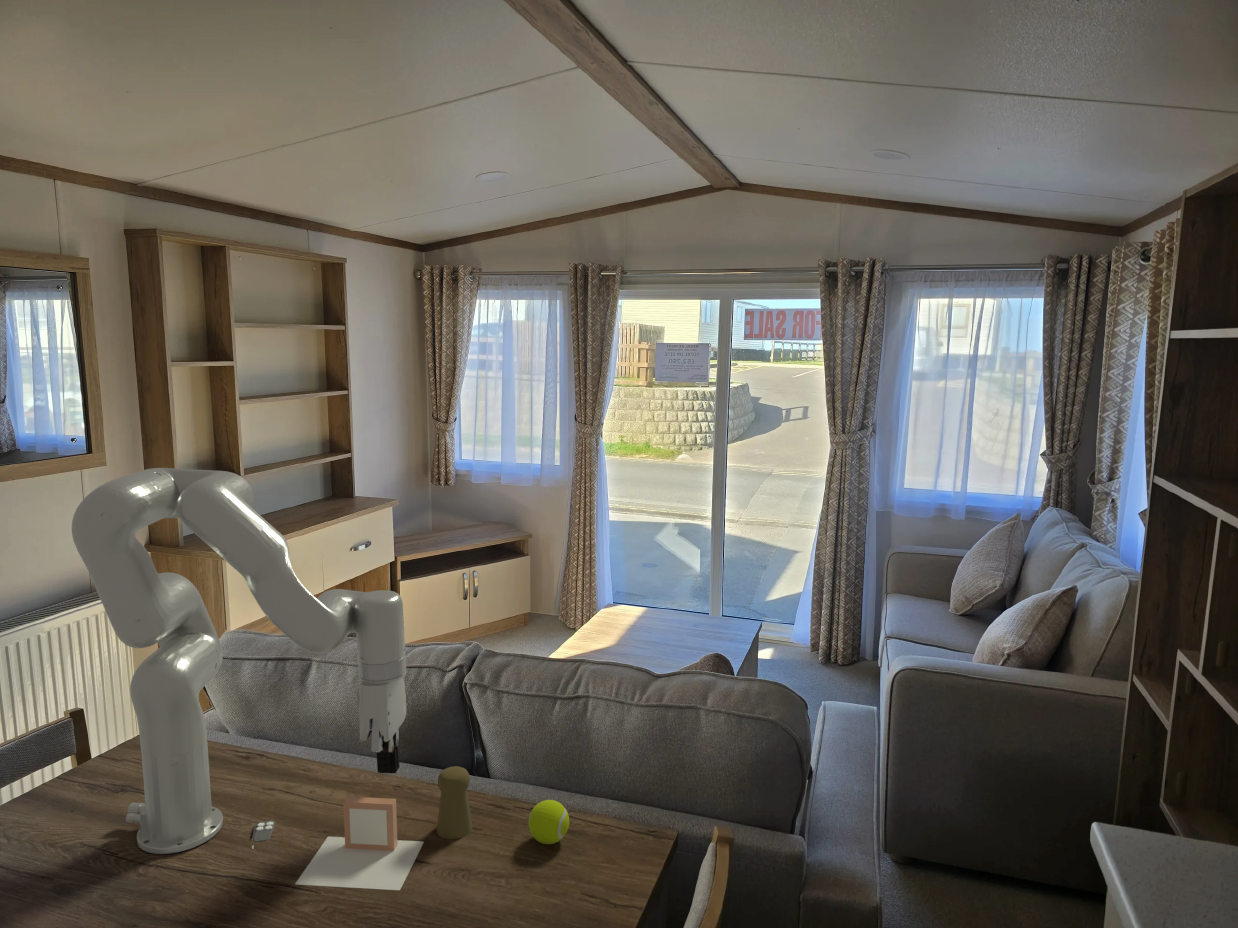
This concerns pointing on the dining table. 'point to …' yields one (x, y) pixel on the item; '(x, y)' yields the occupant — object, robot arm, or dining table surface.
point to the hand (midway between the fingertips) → (388, 770)
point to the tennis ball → (548, 822)
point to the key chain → (263, 831)
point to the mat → (360, 866)
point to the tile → (370, 823)
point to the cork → (454, 804)
